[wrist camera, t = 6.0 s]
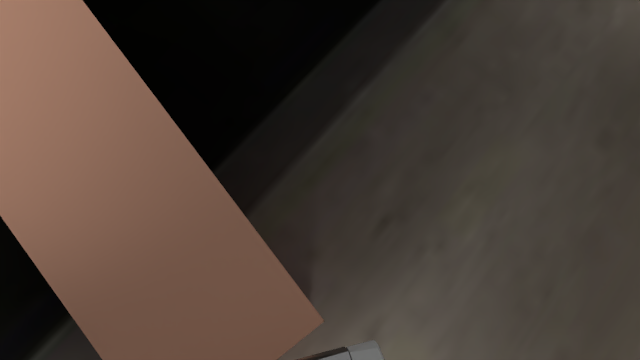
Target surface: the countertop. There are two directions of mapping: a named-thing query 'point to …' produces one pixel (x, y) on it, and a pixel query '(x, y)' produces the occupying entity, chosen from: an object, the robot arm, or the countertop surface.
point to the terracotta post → (128, 204)
